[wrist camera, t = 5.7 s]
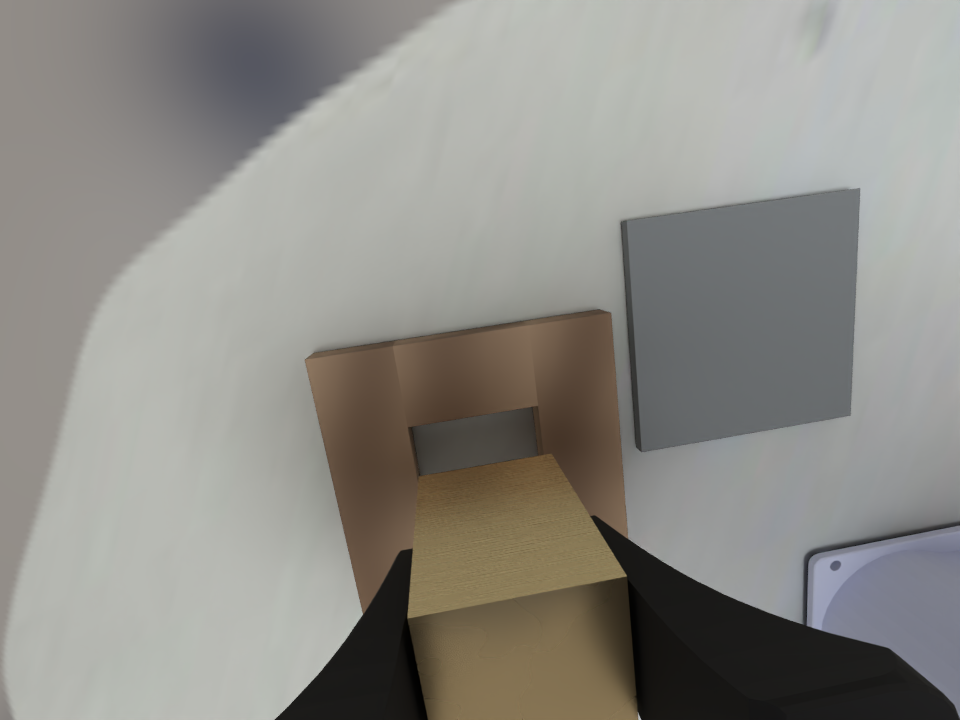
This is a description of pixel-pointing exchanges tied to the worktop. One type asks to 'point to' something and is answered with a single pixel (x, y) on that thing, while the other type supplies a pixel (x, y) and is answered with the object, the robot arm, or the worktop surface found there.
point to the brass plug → (517, 599)
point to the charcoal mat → (741, 317)
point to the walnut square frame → (461, 394)
